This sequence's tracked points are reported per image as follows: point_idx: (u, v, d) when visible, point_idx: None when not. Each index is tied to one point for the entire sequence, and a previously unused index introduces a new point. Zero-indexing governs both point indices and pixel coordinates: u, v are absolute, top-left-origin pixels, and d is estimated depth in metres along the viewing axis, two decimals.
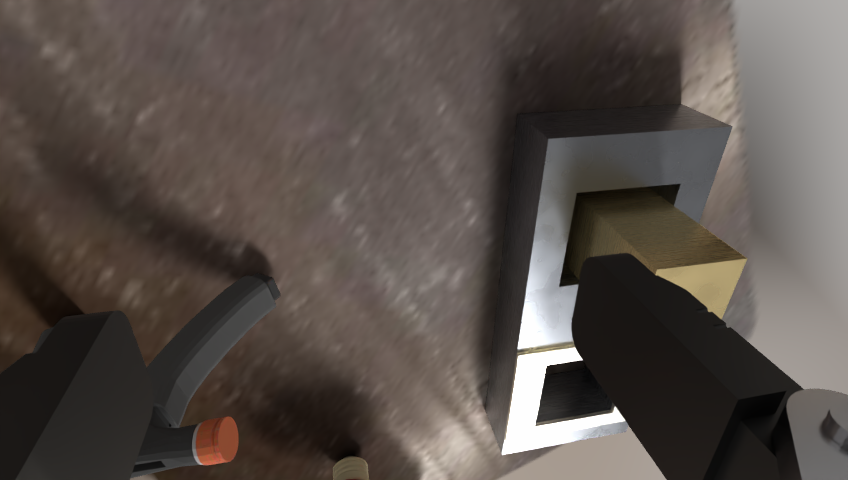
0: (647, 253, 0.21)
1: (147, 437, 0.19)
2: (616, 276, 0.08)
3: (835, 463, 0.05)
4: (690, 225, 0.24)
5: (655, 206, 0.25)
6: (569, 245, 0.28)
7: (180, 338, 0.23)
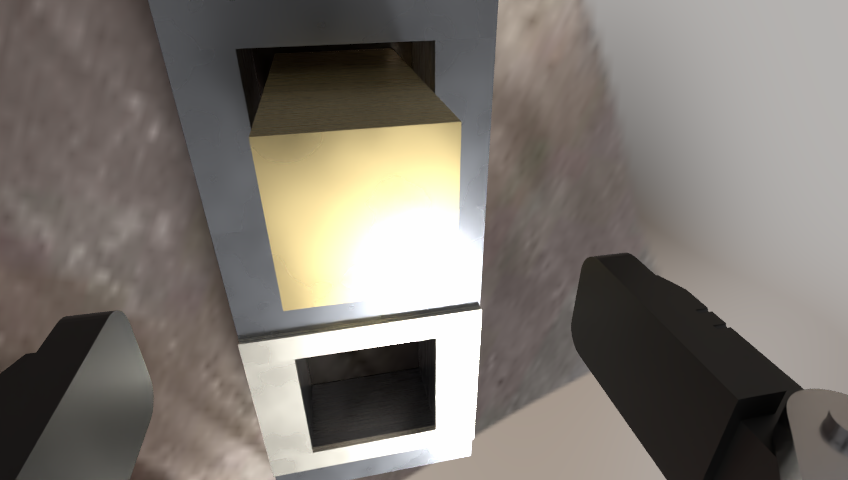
0: (269, 119, 0.11)
1: None
2: (616, 276, 0.08)
3: (835, 463, 0.05)
4: (411, 90, 0.13)
5: (382, 75, 0.15)
6: None
7: None
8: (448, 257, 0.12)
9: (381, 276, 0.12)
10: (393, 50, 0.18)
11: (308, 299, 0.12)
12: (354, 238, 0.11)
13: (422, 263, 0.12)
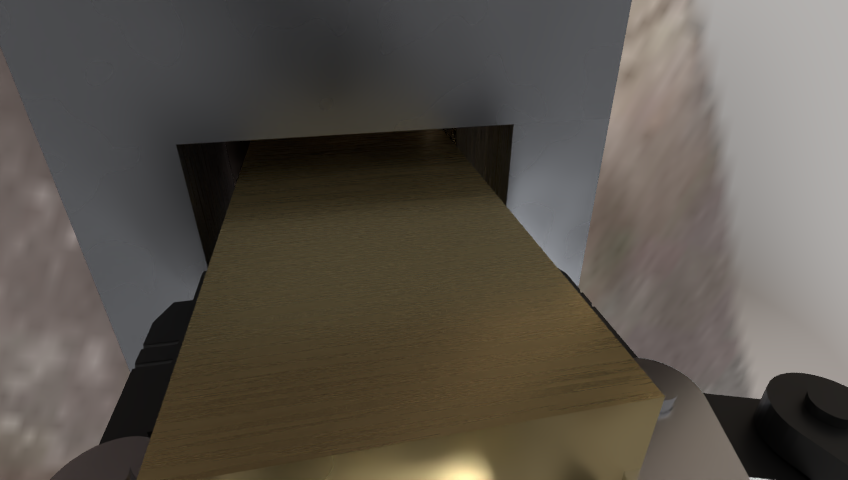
0: (208, 369, 0.05)
1: None
2: None
3: None
4: (496, 240, 0.07)
5: (431, 186, 0.09)
6: None
7: None
8: None
9: None
10: None
11: None
12: None
13: None
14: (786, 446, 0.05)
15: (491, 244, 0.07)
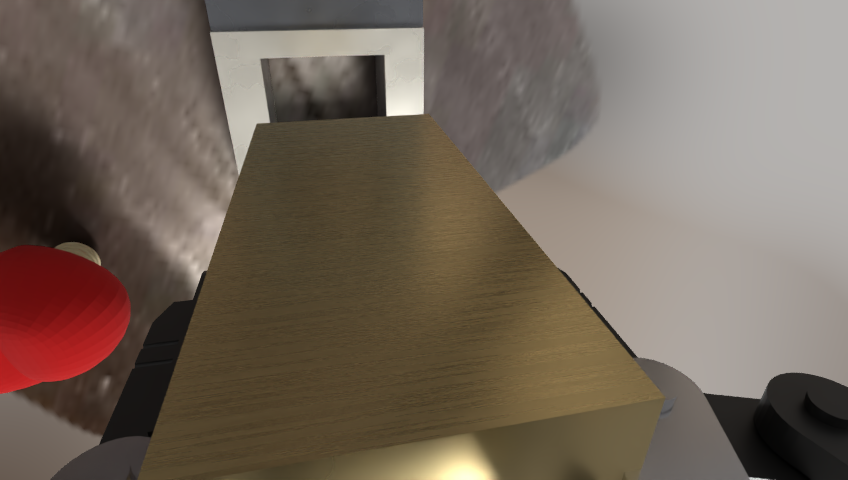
0: (209, 370, 0.05)
1: None
2: None
3: None
4: (496, 241, 0.07)
5: (431, 186, 0.09)
6: None
7: None
8: None
9: None
10: (432, 119, 0.12)
11: None
12: None
13: None
14: (786, 446, 0.05)
15: (491, 245, 0.07)
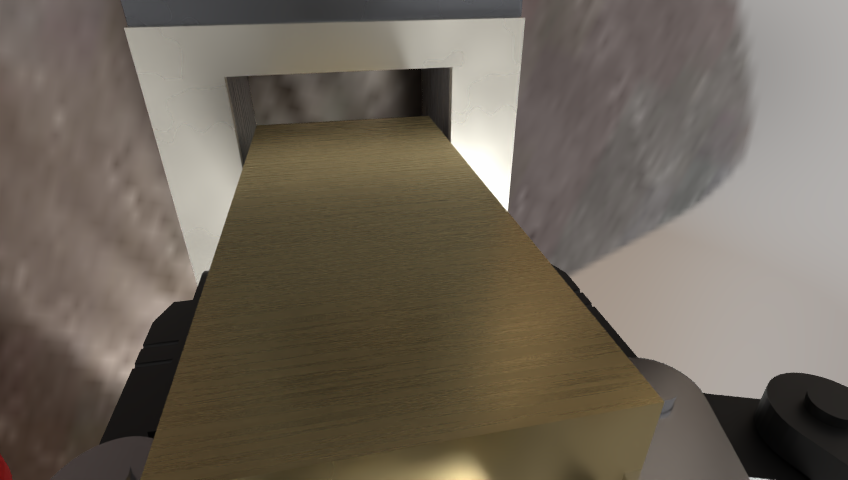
0: (208, 375, 0.05)
1: None
2: None
3: None
4: (496, 244, 0.07)
5: (431, 189, 0.09)
6: None
7: None
8: None
9: None
10: (432, 121, 0.12)
11: None
12: None
13: None
14: (786, 446, 0.05)
15: (491, 248, 0.07)
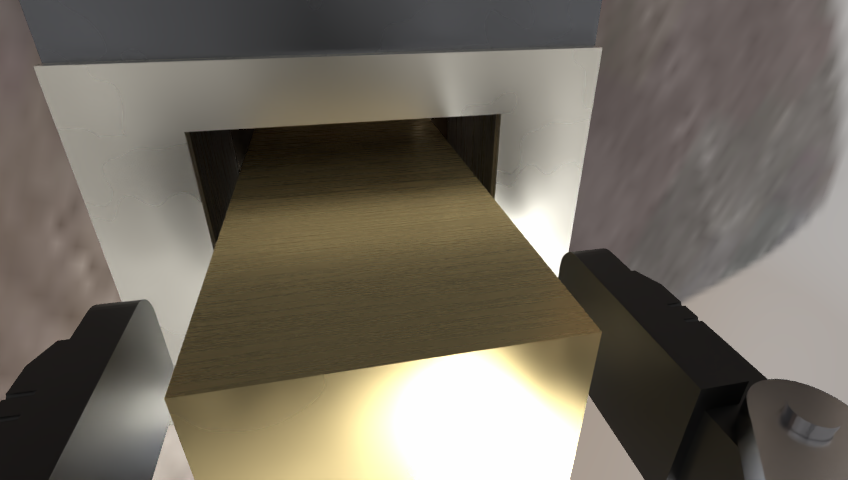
0: (220, 315, 0.06)
1: None
2: (591, 271, 0.08)
3: (790, 450, 0.05)
4: (472, 215, 0.08)
5: (417, 170, 0.09)
6: None
7: None
8: None
9: None
10: None
11: None
12: None
13: None
14: None
15: (468, 218, 0.08)
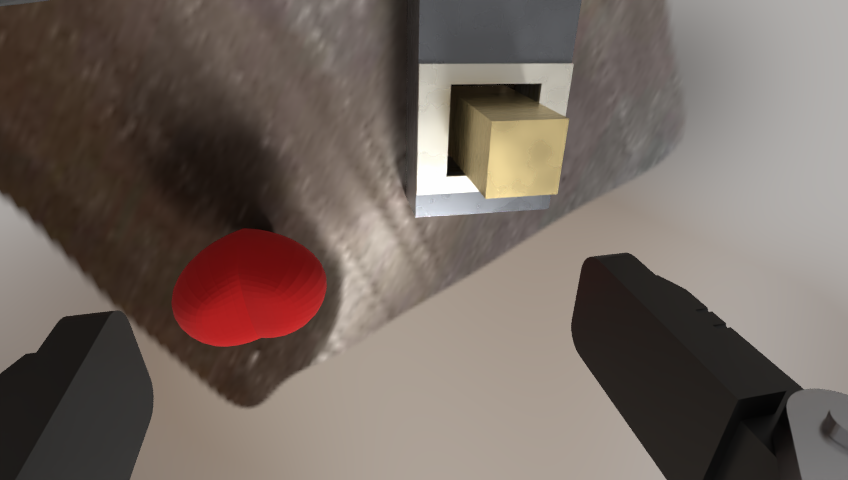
0: (490, 115, 0.27)
1: None
2: (616, 276, 0.08)
3: (835, 463, 0.05)
4: (537, 106, 0.29)
5: (516, 99, 0.31)
6: (454, 141, 0.33)
7: None
8: (555, 178, 0.28)
9: (527, 185, 0.28)
10: None
11: (496, 193, 0.28)
12: (520, 166, 0.27)
13: (544, 180, 0.28)
14: None
15: (536, 107, 0.29)
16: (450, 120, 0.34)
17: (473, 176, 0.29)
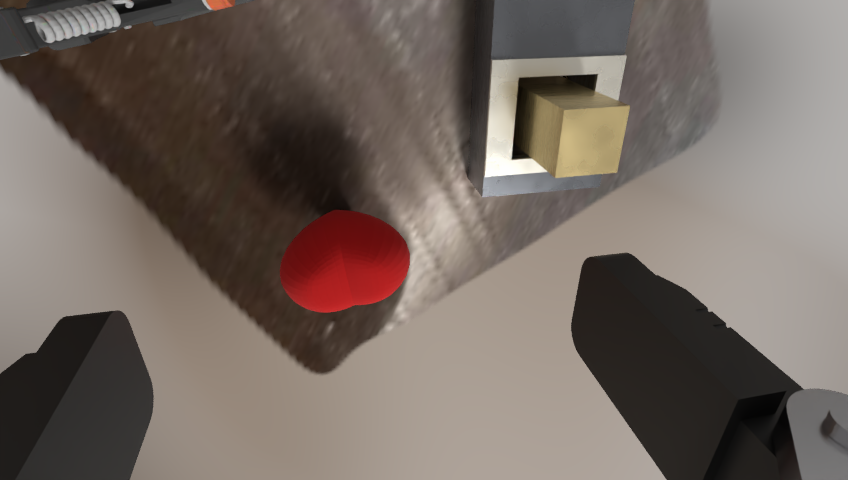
0: (560, 105, 0.30)
1: None
2: (616, 276, 0.08)
3: (835, 463, 0.05)
4: (597, 95, 0.33)
5: (575, 89, 0.34)
6: (517, 128, 0.37)
7: None
8: (616, 158, 0.32)
9: (591, 165, 0.32)
10: None
11: (564, 173, 0.31)
12: (586, 148, 0.31)
13: (606, 160, 0.32)
14: None
15: (596, 95, 0.33)
16: None
17: (540, 158, 0.33)
